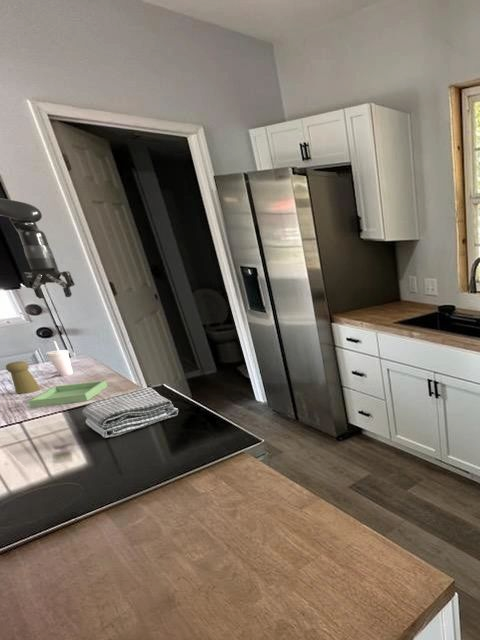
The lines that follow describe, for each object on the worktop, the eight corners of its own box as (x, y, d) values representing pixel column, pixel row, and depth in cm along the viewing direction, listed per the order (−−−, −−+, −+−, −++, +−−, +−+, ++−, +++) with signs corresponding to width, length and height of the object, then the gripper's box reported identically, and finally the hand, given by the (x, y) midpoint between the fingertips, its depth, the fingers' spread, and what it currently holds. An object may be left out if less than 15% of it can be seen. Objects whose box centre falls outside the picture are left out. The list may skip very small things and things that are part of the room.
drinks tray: (31, 407, 135) (27, 401, 134) (56, 392, 148) (53, 386, 147) (87, 400, 140) (85, 394, 140) (107, 386, 153) (105, 380, 152)
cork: (30, 387, 153) (16, 359, 149) (45, 387, 153) (32, 359, 149) (11, 394, 147) (-4, 365, 143) (27, 394, 147) (13, 365, 143)
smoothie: (75, 375, 166) (61, 341, 161) (53, 378, 162) (37, 344, 157) (79, 370, 171) (65, 338, 166) (58, 374, 167) (43, 340, 162)
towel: (86, 429, 120) (75, 404, 117) (161, 406, 135) (153, 384, 132) (105, 441, 113) (94, 416, 110) (182, 416, 127) (174, 393, 124)
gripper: (68, 256, 172) (82, 295, 177) (22, 257, 167) (38, 297, 172) (58, 256, 165) (72, 297, 170) (10, 257, 160) (26, 299, 165)
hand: (55, 297), depth 171 cm, fingers open, 8 cm apart
